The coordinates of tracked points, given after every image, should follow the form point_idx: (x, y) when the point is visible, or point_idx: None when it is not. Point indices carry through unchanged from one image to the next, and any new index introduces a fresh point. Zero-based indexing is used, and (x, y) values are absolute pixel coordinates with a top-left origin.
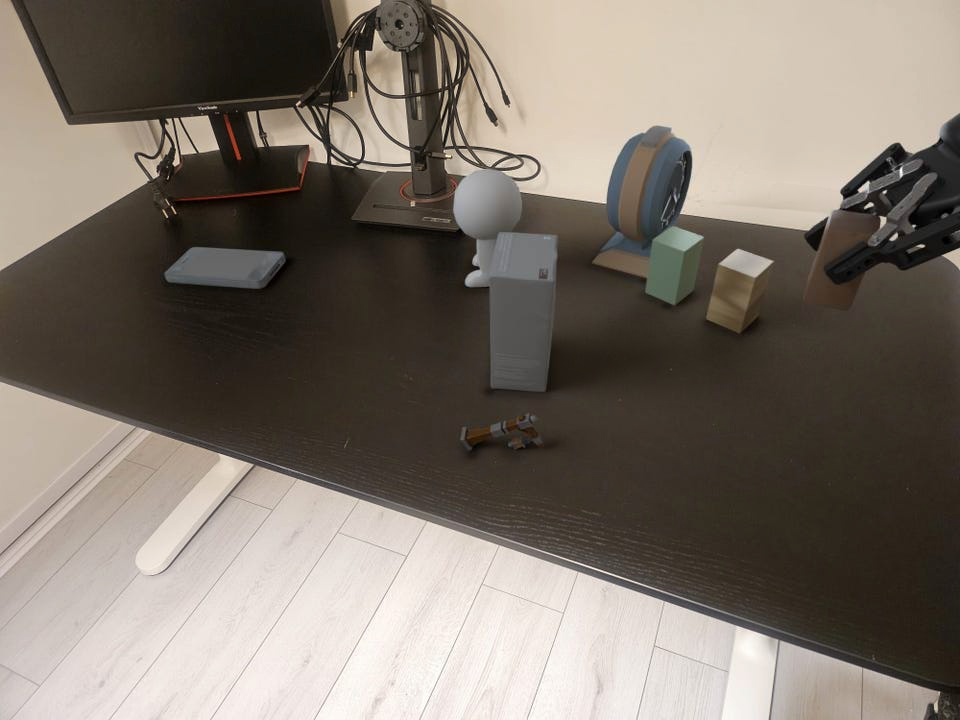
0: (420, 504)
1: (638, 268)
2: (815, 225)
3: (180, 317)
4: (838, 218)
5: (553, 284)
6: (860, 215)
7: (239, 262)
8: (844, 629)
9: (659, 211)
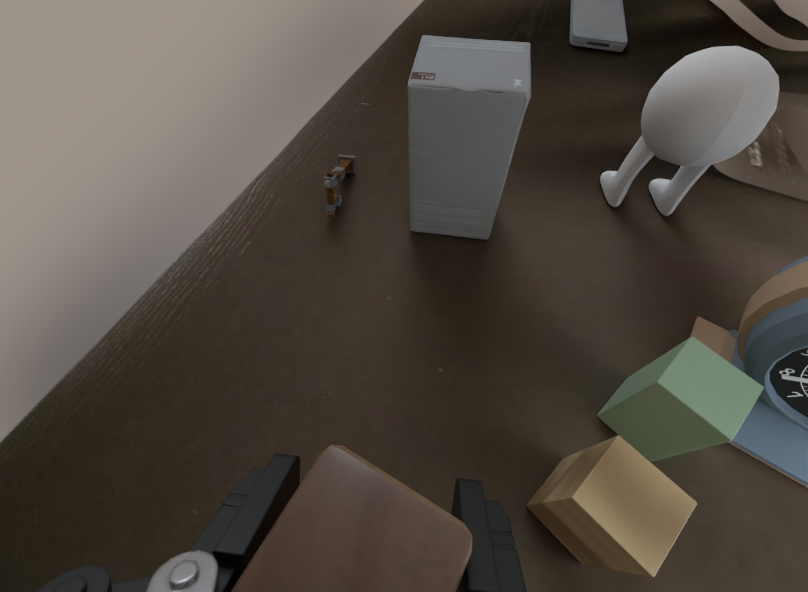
0: (291, 143)
1: None
2: (505, 521)
3: (523, 13)
4: (384, 511)
5: (409, 93)
6: None
7: (602, 21)
8: (29, 433)
9: (783, 345)
